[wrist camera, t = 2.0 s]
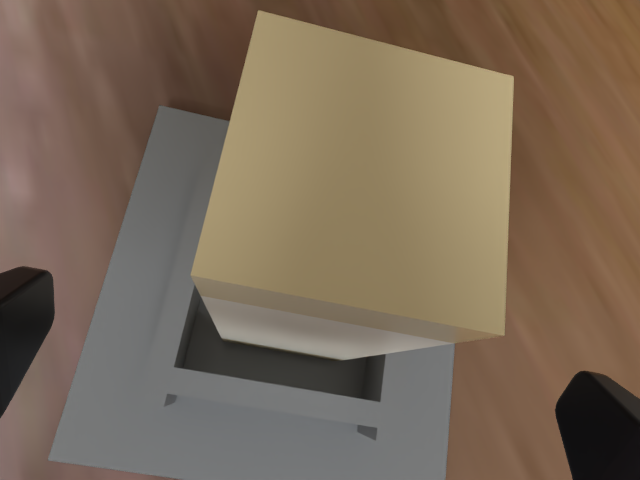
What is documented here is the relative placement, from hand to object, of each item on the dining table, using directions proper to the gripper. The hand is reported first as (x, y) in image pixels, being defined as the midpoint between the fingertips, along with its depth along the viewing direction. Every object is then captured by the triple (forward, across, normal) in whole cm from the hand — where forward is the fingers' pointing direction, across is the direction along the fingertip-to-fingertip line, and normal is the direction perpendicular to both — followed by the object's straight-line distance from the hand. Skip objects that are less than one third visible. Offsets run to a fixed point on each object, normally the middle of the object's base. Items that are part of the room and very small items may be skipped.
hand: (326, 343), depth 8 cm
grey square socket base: (+10, 0, +6) cm, 11 cm away
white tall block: (+9, 0, +6) cm, 11 cm away
